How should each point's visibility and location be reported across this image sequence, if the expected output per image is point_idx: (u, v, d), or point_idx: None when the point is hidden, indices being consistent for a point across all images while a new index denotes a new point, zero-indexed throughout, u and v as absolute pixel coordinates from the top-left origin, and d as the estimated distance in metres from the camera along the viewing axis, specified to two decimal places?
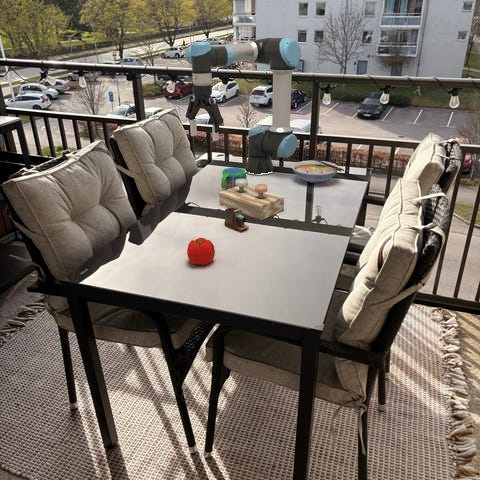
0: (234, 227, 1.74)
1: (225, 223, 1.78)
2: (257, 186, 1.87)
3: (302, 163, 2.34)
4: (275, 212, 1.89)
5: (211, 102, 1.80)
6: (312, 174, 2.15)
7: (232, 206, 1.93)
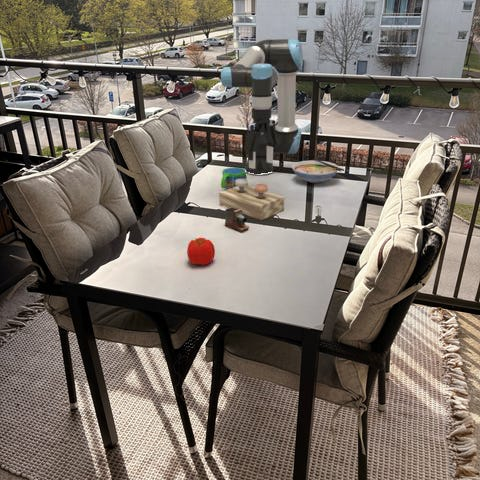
0: (234, 227, 1.74)
1: (225, 223, 1.78)
2: (257, 186, 1.87)
3: (302, 163, 2.34)
4: (275, 212, 1.89)
5: None
6: (312, 174, 2.15)
7: (232, 206, 1.93)
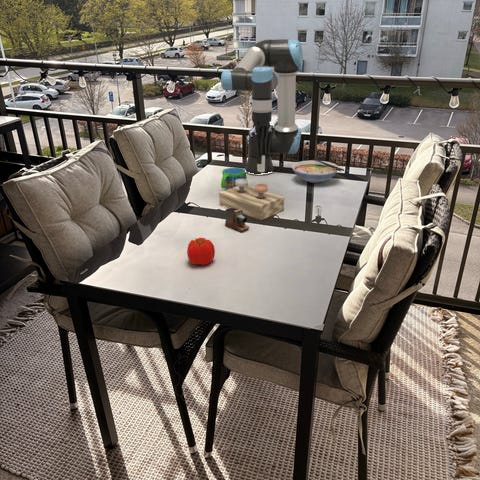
0: (235, 227, 1.74)
1: (226, 223, 1.78)
2: (257, 186, 1.87)
3: (302, 163, 2.34)
4: (275, 212, 1.89)
5: None
6: (312, 174, 2.15)
7: (232, 206, 1.93)
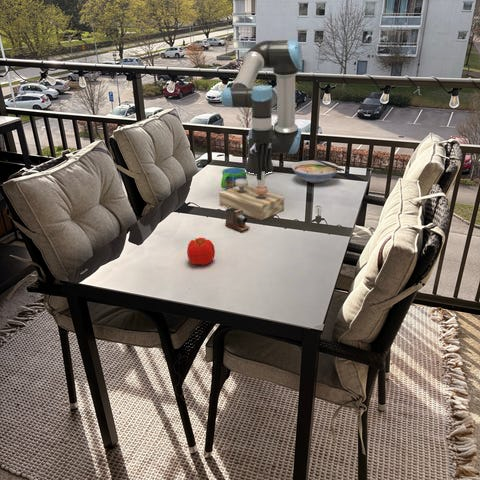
0: (235, 227, 1.74)
1: (226, 223, 1.77)
2: (257, 187, 1.87)
3: (302, 163, 2.34)
4: (275, 212, 1.89)
5: None
6: (312, 174, 2.15)
7: (232, 206, 1.93)
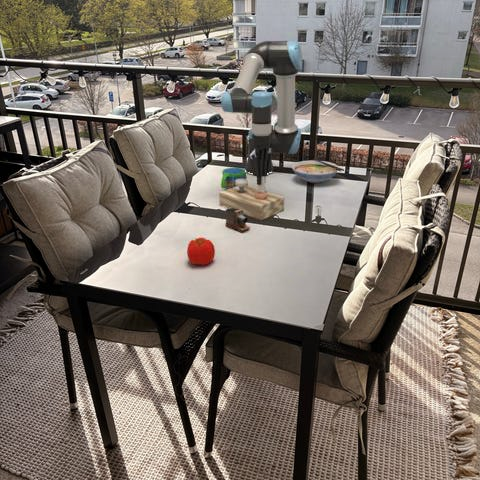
0: (235, 228, 1.74)
1: (226, 224, 1.77)
2: (257, 192, 1.88)
3: (302, 163, 2.34)
4: (275, 212, 1.89)
5: None
6: (312, 174, 2.15)
7: (232, 206, 1.93)
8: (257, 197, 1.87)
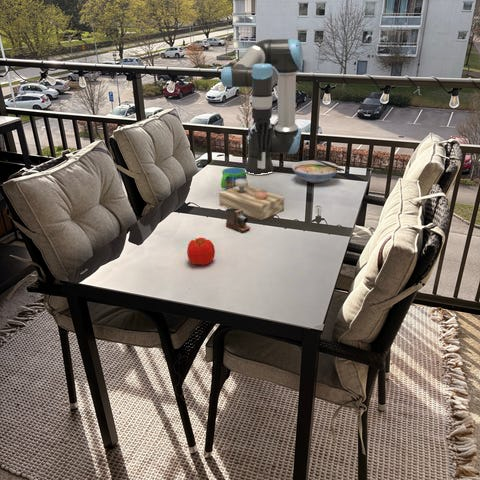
0: (236, 228, 1.74)
1: (227, 224, 1.77)
2: (257, 192, 1.88)
3: (302, 163, 2.34)
4: (275, 212, 1.89)
5: None
6: (312, 174, 2.15)
7: (232, 206, 1.93)
8: (257, 197, 1.87)
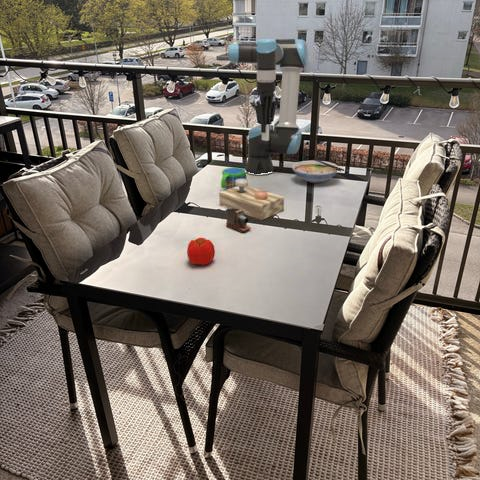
0: (236, 228, 1.74)
1: (227, 224, 1.77)
2: (257, 192, 1.88)
3: (302, 163, 2.34)
4: (275, 212, 1.89)
5: None
6: (312, 174, 2.15)
7: (232, 206, 1.93)
8: (257, 197, 1.87)
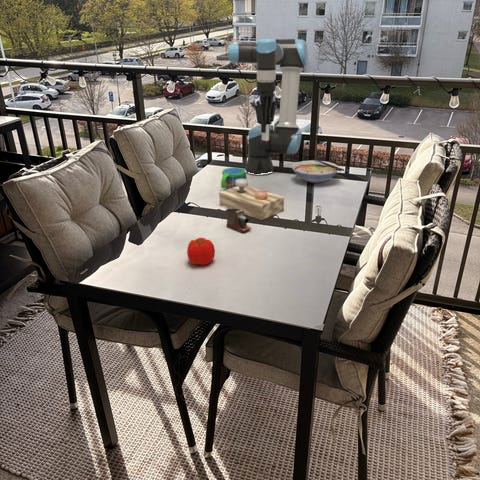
0: (236, 228, 1.74)
1: (227, 224, 1.77)
2: (257, 192, 1.88)
3: (302, 163, 2.34)
4: (275, 212, 1.89)
5: None
6: (312, 174, 2.15)
7: (232, 206, 1.93)
8: (257, 197, 1.87)
